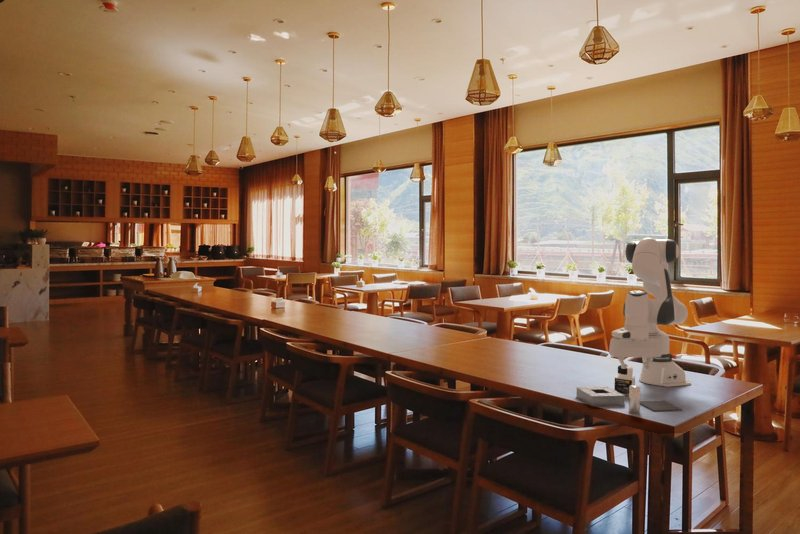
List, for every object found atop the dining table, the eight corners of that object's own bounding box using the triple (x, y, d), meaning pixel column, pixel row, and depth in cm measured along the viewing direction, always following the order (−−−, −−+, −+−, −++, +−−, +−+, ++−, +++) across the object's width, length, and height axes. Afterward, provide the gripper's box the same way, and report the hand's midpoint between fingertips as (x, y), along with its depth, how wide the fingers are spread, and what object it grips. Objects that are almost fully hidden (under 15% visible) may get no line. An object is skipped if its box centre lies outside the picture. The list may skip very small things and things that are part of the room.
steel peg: (636, 410, 217) (637, 385, 217) (642, 413, 213) (642, 387, 213) (626, 410, 217) (627, 385, 217) (632, 413, 213) (632, 388, 213)
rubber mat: (664, 401, 230) (664, 400, 230) (682, 410, 218) (682, 409, 218) (636, 402, 228) (636, 401, 228) (653, 411, 216) (653, 409, 216)
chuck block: (607, 395, 238) (607, 386, 238) (624, 405, 224) (624, 395, 224) (576, 396, 236) (576, 387, 236) (591, 406, 223) (592, 396, 222)
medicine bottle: (614, 393, 242) (614, 366, 242) (617, 389, 248) (618, 363, 248) (631, 396, 238) (632, 368, 238) (634, 392, 244) (635, 365, 244)
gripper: (656, 331, 218) (655, 366, 219) (607, 331, 216) (606, 366, 216) (666, 334, 212) (665, 369, 213) (615, 334, 210) (614, 370, 210)
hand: (635, 368), depth 214 cm, fingers open, 8 cm apart
